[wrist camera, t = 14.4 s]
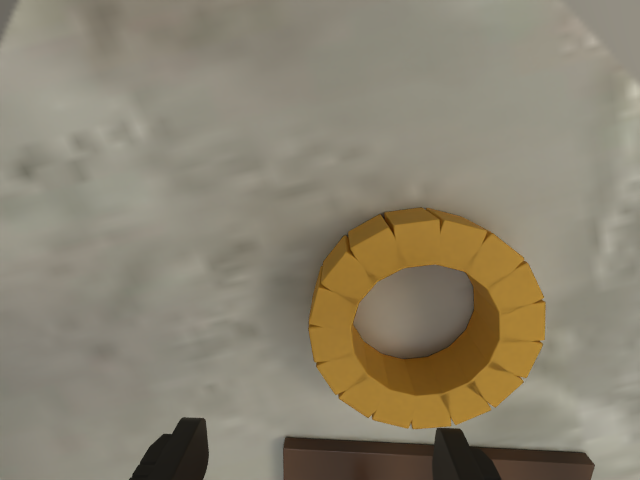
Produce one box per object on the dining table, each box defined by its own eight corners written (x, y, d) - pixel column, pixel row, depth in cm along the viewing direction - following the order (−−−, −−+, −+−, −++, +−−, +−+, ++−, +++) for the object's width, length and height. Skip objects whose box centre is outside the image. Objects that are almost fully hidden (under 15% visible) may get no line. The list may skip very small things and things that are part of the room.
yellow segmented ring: (276, 319, 23) (265, 350, 19) (399, 165, 20) (412, 169, 16) (420, 418, 24) (434, 462, 21) (555, 289, 21) (597, 316, 18)
